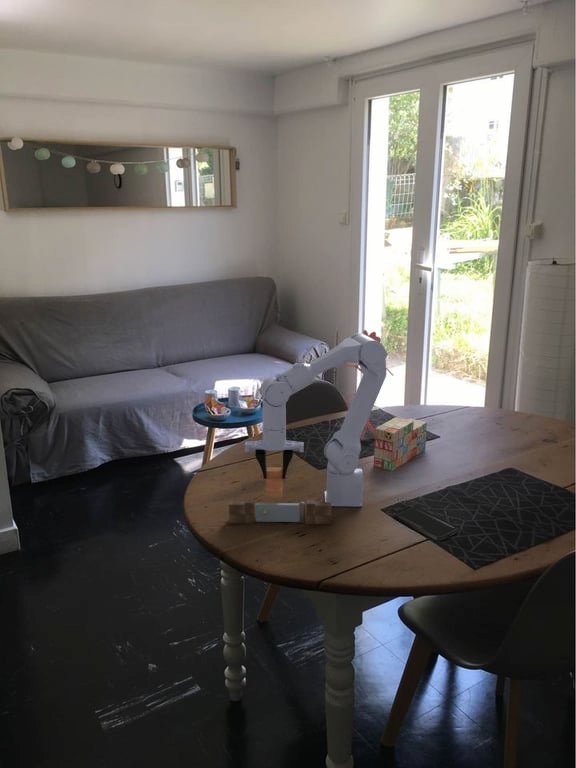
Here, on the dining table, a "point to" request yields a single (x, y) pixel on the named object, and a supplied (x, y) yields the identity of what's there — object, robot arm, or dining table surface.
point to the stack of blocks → (398, 442)
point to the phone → (425, 522)
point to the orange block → (274, 482)
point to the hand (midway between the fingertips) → (274, 477)
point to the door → (280, 512)
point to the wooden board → (245, 512)
